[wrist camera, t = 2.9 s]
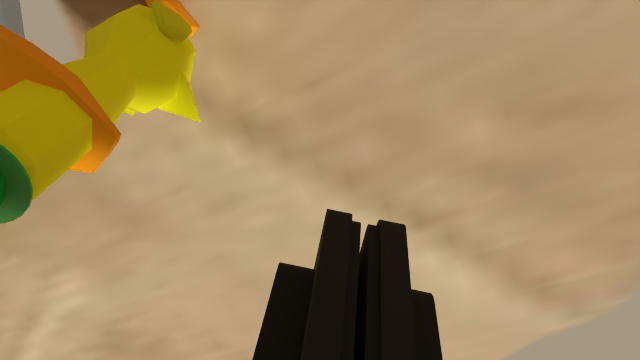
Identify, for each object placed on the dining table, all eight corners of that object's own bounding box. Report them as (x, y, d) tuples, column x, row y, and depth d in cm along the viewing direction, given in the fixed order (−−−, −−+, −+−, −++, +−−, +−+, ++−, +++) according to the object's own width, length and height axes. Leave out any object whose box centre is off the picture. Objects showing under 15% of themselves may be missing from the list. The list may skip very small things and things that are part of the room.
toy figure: (63, -6, 18) (-365, 124, 8) (105, -90, 16) (-365, -71, 6) (212, 109, 20) (27, 341, 9) (263, 42, 18) (109, 235, 8)
